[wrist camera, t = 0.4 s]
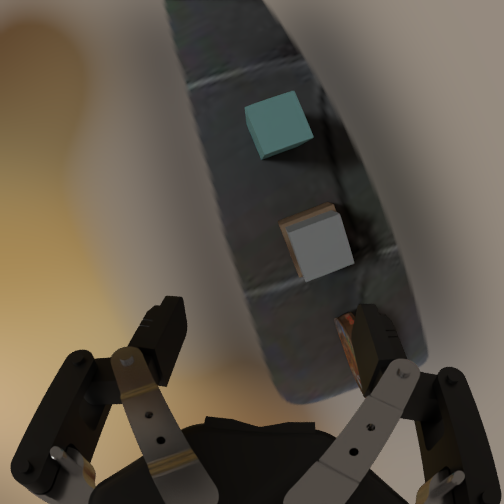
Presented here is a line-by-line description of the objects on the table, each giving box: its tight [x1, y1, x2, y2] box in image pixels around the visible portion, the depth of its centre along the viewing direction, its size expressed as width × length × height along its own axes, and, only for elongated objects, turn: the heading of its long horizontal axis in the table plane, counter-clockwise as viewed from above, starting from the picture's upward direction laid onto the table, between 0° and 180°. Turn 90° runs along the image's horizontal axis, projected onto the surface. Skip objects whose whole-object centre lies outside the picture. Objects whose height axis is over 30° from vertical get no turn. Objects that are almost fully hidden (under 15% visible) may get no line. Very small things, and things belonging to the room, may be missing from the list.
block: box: [245, 91, 314, 160], centre depth 31 cm, size 5×5×10 cm
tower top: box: [285, 210, 354, 282], centre depth 34 cm, size 6×6×4 cm
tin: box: [335, 312, 366, 398], centre depth 39 cm, size 15×3×8 cm, turn 24°
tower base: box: [278, 202, 336, 277], centre depth 38 cm, size 7×7×4 cm
